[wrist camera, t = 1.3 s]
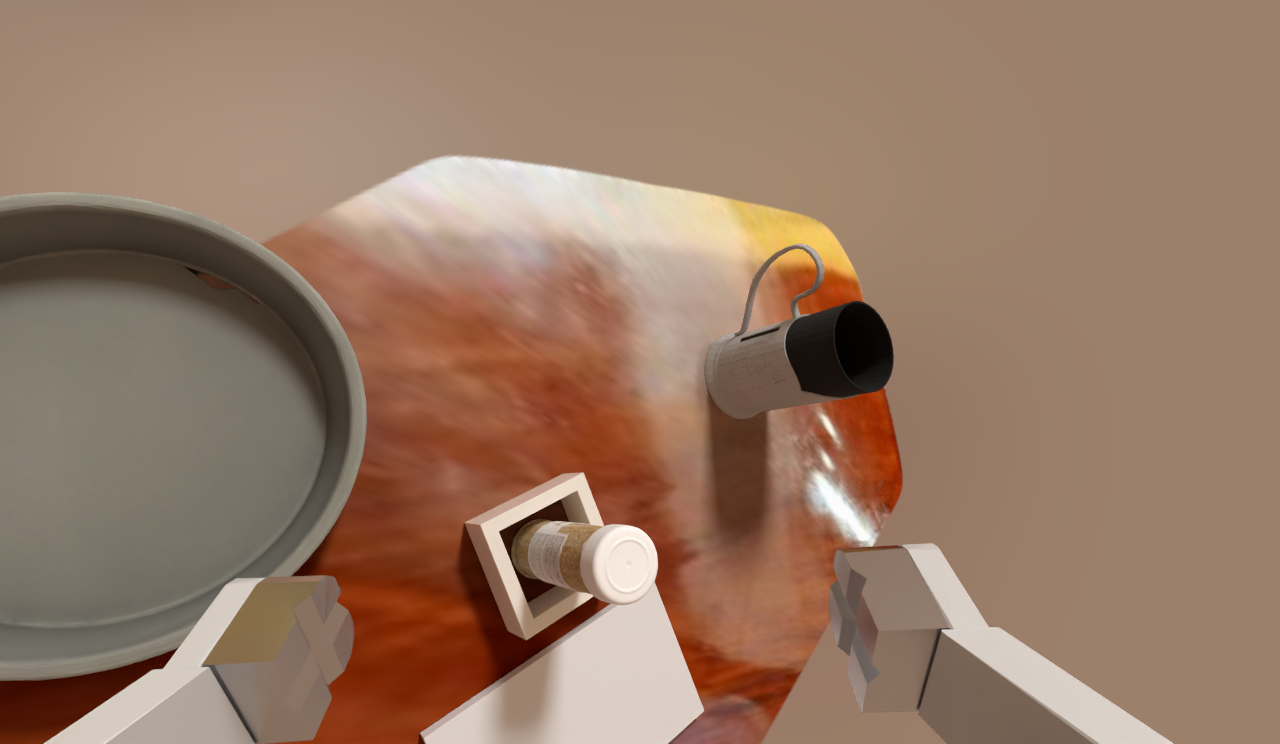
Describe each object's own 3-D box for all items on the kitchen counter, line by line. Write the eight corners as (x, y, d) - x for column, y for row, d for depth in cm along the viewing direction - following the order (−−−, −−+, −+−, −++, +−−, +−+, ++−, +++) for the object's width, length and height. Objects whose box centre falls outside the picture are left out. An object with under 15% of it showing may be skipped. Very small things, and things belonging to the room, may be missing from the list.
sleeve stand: (507, 631, 45) (526, 640, 42) (464, 522, 44) (480, 524, 41) (601, 571, 50) (623, 576, 47) (563, 473, 49) (583, 472, 46)
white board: (486, 894, 41) (491, 902, 40) (420, 733, 40) (423, 737, 40) (696, 707, 52) (704, 710, 51) (647, 578, 52) (653, 580, 51)
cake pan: (430, 451, 44) (448, 447, 40) (46, 766, 31) (20, 803, 27) (182, 155, 39) (176, 119, 35) (-407, 386, 26) (-516, 368, 22)
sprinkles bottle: (569, 525, 49) (667, 534, 38) (555, 584, 47) (653, 612, 36) (517, 512, 47) (604, 517, 35) (501, 574, 45) (587, 599, 34)
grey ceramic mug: (724, 432, 59) (852, 416, 47) (672, 295, 58) (789, 241, 46) (780, 401, 64) (910, 379, 52) (733, 274, 63) (854, 220, 51)
